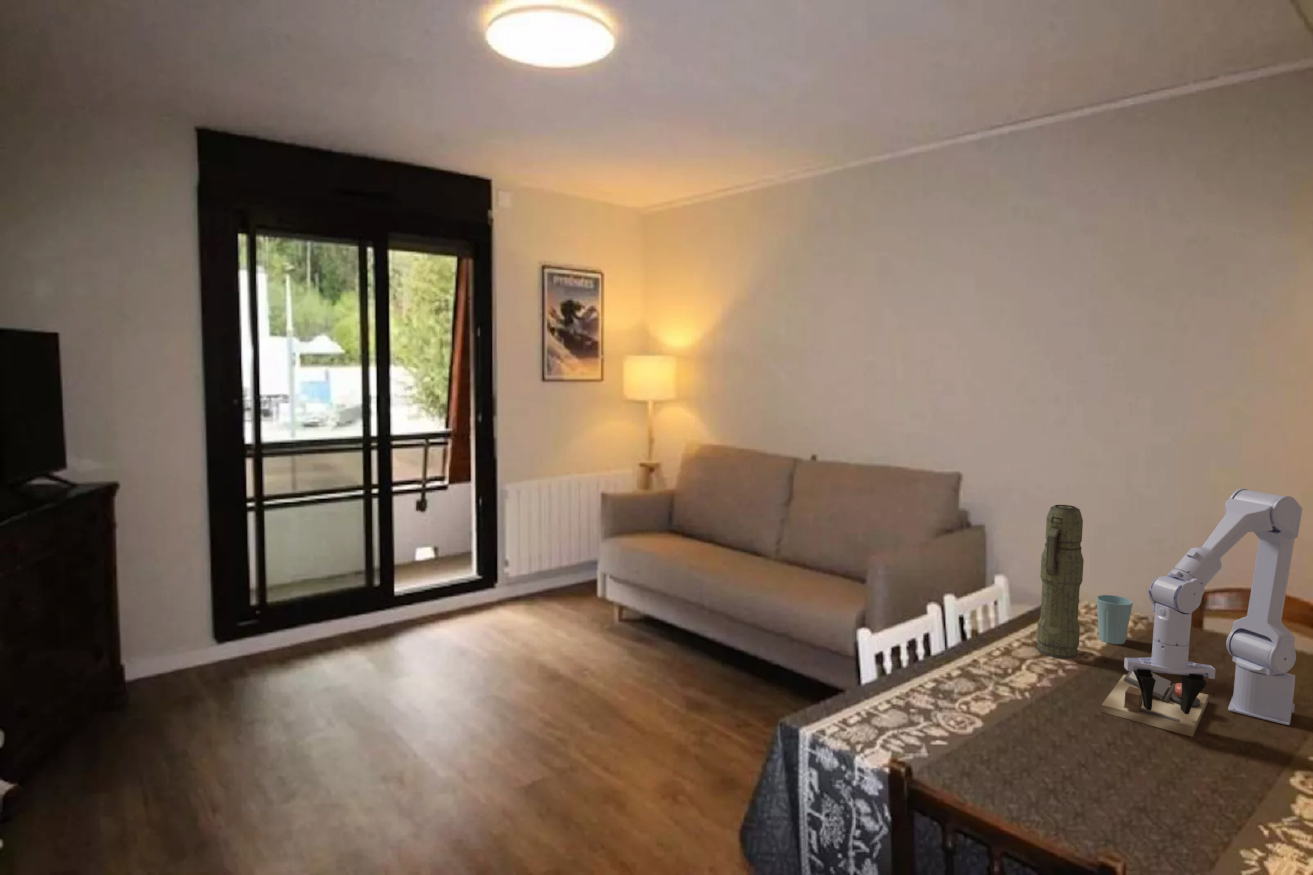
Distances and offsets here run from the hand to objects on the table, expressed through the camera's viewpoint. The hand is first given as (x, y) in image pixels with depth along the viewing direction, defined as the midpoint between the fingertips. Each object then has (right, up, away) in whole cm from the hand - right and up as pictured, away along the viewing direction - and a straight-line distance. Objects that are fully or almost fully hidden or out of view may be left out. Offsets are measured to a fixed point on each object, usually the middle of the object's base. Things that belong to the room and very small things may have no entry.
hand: (1165, 709), depth 147 cm
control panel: (+3, -2, +8) cm, 9 cm away
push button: (+8, 0, +7) cm, 11 cm away
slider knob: (-4, -1, +4) cm, 6 cm away
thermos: (-2, +1, +37) cm, 37 cm away
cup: (+16, +1, +44) cm, 47 cm away
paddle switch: (+4, +1, +12) cm, 13 cm away
